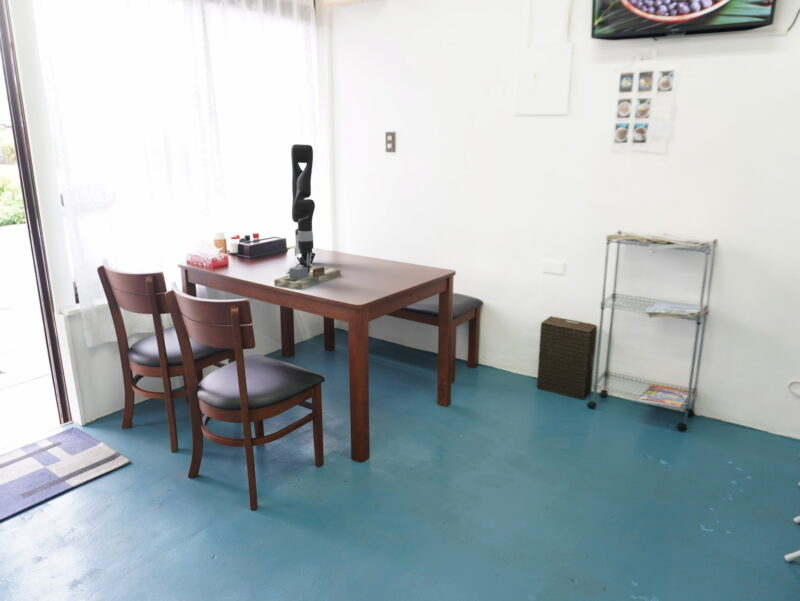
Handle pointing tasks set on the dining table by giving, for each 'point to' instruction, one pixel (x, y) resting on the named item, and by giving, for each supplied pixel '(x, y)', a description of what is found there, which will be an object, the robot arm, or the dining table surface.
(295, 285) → the tunnel deck
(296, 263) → the bracket
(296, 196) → the robot arm
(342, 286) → the dining table surface
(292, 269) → the grey block
